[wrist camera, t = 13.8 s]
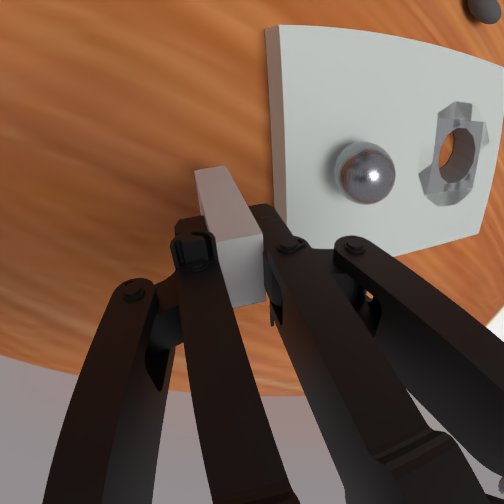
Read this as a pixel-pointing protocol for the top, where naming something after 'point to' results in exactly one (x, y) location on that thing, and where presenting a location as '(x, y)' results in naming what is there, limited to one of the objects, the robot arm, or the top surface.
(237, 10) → the top surface
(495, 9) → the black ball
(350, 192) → the steel ball
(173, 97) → the top surface
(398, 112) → the board
